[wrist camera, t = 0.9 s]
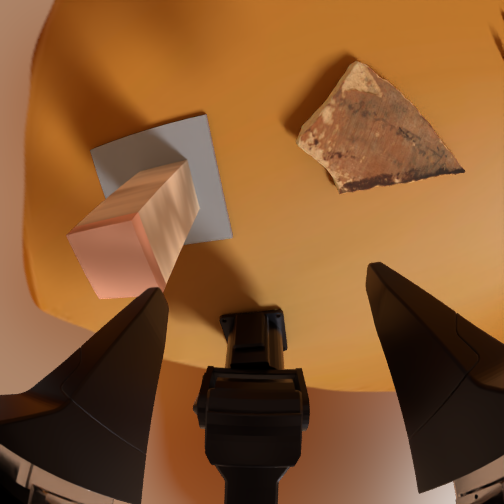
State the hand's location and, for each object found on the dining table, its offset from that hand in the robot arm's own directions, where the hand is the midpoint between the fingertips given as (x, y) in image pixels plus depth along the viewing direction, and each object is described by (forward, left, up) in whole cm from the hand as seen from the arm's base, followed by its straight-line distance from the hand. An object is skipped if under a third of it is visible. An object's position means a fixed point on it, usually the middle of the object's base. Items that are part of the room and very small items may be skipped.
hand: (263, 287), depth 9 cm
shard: (+3, -10, -14) cm, 17 cm away
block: (0, +7, -13) cm, 14 cm away
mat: (0, +8, -13) cm, 15 cm away
